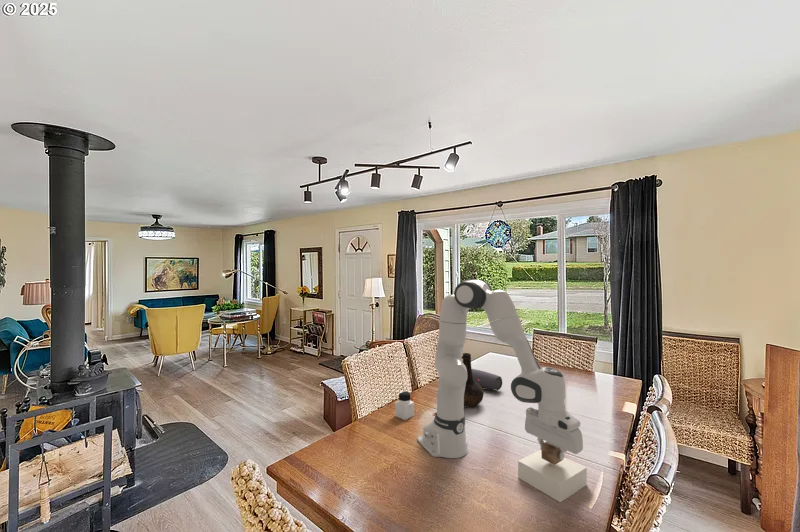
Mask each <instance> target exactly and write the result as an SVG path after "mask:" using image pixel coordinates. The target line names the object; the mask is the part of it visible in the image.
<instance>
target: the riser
mask: <svg viewBox="0 0 800 532" xmlns="http://www.w3.org/2000/svg"><path fill="white" fill-rule="evenodd" d="M587 474H588V473H587V467H586V466H584V465H583V464H580V463H578V462H576V461H574V460H571V459H569V458H566V457H565V456H564V459H563V460H562V461H561V462H559V463H557V464H555V465H554V464H552V463H550V462H548V461H546V460H544V459H542V451H541V449H539V450H538V451H535V452H533V453H531V454H529V455H526V456H525V457H522V458H521V459H519V460H517V478H518V479H520V480H521V481H523V482H525V483H527V484H528V485H530V486H531V487H533V488H535V489H537V490H539V491H541V492H542V493H544V494H545V495H547V496H549V497H550V498H551V499H553V500H556V501H557V502H559V503H563V501H565V500H566V499H568V498H570V497H571V496H572V495H574V494H575V493H578V492H579V491H580V490H581V489H583V488H585V487H586V486H587V484H588V483H587V478H588V477H587Z"/></svg>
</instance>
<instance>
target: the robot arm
mask: <svg viewBox="0 0 800 532" xmlns="http://www.w3.org/2000/svg"><path fill="white" fill-rule="evenodd" d="M470 309H482V310H484V312H485V313H486V316H487V318H488V319H487V320H488V322H489V325H490V326H489V327H490V329H491V331H492V333H493V335H494V336H495V338H496V339H497V340H498V341H500V342H502V343H505V344H507V345H509V346H510V347H511V348H512V349H513V351H514V353H515V356H516V358H517V361H518V364H519V366H520V369H521V373H520V374H518V375H516V376H515V377H514V378H513V379H512V381H511V383H510V390H511V394H512V396H513V397H514V398H515V399H516V400H517V401H519V402H521V403H524V404H525V403H526V404H538V405H537V406H538V407H537V408H538V409H536V408H534V407H531V406H530V407H528V408H526V410H525V420H524V422H525V423H524V430H525V432H526V433H527V434H530V435H531V436H534V437H536V438H537V442H538V444H539V446H540V450H541V451H542V446H541V444H543V443H545V442H549V443H551V444H554V445H556V446H558V447H560V450H561V452H559V453H557V456H558V457H557V458H558V459H560V460H563V459H564V457H565V454H566V452H570V453H572V454H574V455H578V454H580V453H581V452H582V451H583V450H584V443H583V442H584V440H583V433H582V431H581V429H580V427H581V421H580V420H579V419H578V418H576V417H575V416H573V415H572V414H570V412H568V411H567V409H566V405H565V401H566V396H567V395H566V381H565V377H564V375H563V373H562V372H561V371H559V370H558V369H555V368H554V367H553V368H552V367H548V366H544V367H540V365H539V363H538V361H537V359H536V357H535V354H534V352H533V350H532V348H531V345H530V343H529V340H528V338H527V336H526V334H525V331H524V329H523V325H522V322H521V320H520V316H519V315H518V312H517V309H516V307H515V304H514V302H513V300H512V298H511V296H510V295H509V293H508V292H507V291H506V290H502V289H494V290H493V289H492V287H491V285H490V284H489V283H488V282H486V281H485V280H483V279H468V280H463V281H461V282H460V283H458V284H457V285H456V287H455V288H454V291H453V294H449V295H447V296H445V297H443V300H442V303H441V308H440V313H439V327H438V338H437V346H436V353H435V359H434V367H435V370H436V372H437V374H438V388H437V394H436V412H433V413H432V417H434V419H433V420H432V421H430V422H429V423H427V424H426V425H425V426H424V428H423V432H422V434H420V435H419V436H418V437H417V442H418V443H419V444H420V445H421V446H422V447H423V448H424V449H425V450H426V451H427V452H428V453H429V454H430V455H431V456H432V457H434V458H435V457H436V458H441V457H442V458H446V459H458V458H462V457H464V456H466V455H467V454H468V453H469V450H468V440H467V436H466V427H465V426H466V416H465V414H464V413H465V412H464V410H465V409H464V408H465V407H464V392H465V386H466V381H467V369H466V366H465V365H464V363H463V359H462V358H461V357H462V356H463V351H464V346H465V344H466V336H467V333H466V332H467V317H468V312H469V310H470Z"/></svg>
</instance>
